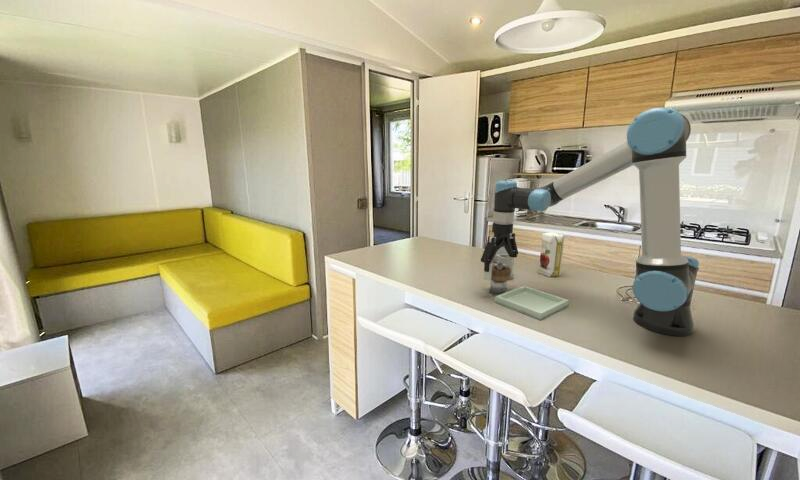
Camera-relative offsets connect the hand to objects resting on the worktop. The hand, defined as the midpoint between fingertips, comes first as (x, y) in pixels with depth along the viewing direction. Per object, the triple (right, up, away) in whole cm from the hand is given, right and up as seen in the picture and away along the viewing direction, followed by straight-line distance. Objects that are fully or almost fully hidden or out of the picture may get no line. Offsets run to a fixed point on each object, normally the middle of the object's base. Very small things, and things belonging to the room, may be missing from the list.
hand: (498, 275), depth 133 cm
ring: (0, -1, 0) cm, 1 cm away
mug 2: (+7, -2, +20) cm, 22 cm away
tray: (+9, -9, -10) cm, 16 cm away
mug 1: (+11, +3, +42) cm, 44 cm away
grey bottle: (0, -7, +1) cm, 7 cm away
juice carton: (+30, -2, +23) cm, 38 cm away
